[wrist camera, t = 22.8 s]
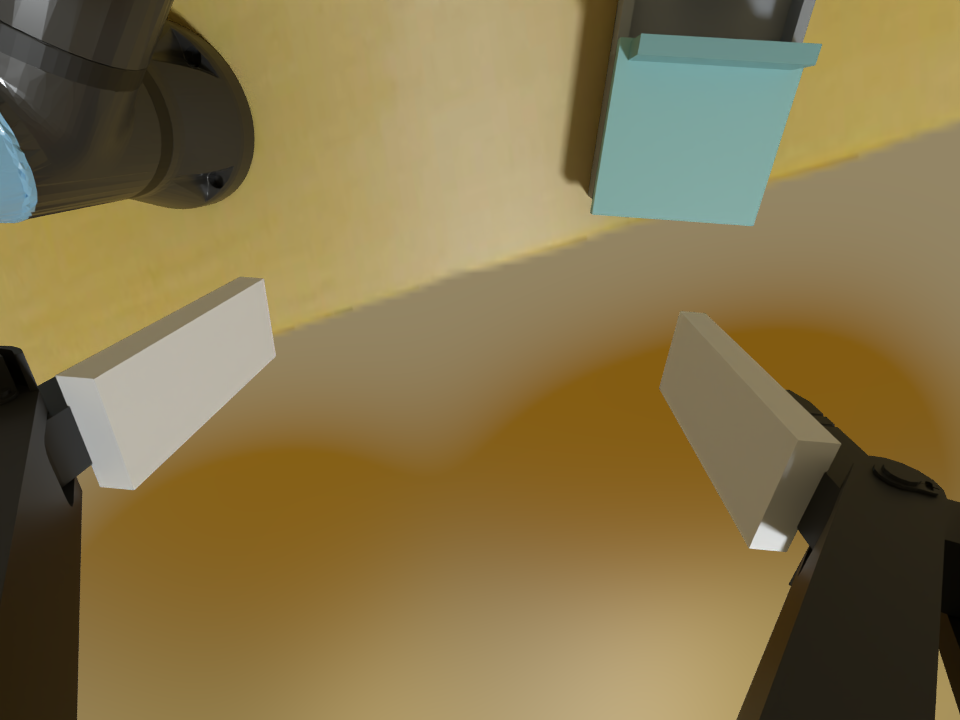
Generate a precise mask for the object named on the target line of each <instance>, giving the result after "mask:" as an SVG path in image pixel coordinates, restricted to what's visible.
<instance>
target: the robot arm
mask: <svg viewBox="0 0 960 720" xmlns="http://www.w3.org/2000/svg"><path fill="white" fill-rule="evenodd" d="M173 1H174V0H0V223H17V222H21V221H24V220H26V219H30V218H35V217H40V216H45V215H50V214H55V213H60V212H65V211H70V210H75V209H80V208H85V207H90V206H95V205H100V204H105V203H110V202H115V201H120V200H124V199H133V200H137V201H141V202H145V203H149V204H153V205H157V206H161V207H166V208H173V209H191V208H197V207H202V206H206V205H210V204H214V203H217V202H219V201H221V200H223V199H225V198H227V197H228V196H229V195H231V194H232V193H233V192H234V191H235V190H236V189H237V188H238V187H239V186H240V185H241V183H242V182H243V180H244V179H245V177H246V175H247V173H248V171H249V168H250V165H251V162H252V158H253V152H254V127H253V120H252V115H251V111H250V108H249V105H248V102H247V99H246V96H245V94H244V92H243V89H242V87H241V85H240V83H239V81H238V80H237V78H236V76H235V75H234V73H233V71H232V70H231V68H230V67H229V66H228V64H227V63H226V62H225V60H224V59H223V58H222V57H221V56H220V55H219V53H218V52H217V51H216V50H215V49H214V48H213V47H212V46H211V45H209V44H208V43H207V42H206V41H205V40H204V39H202V38H201V37H200V36H198V35H197V34H195V33H194V32H192V31H191V30H189V29H187V28H185V27H184V26H181V25H179V24H177V23H174V22H172V21H169V20H166V19H167V17H168V14H169V12H170V9H171V6H172V4H173ZM275 356H276V354H275V348H274V341H273V335H272V328H271V322H270V315H269V309H268V303H267V296H266V290H265V283H264V279H263V278H250V277H239V278H237V279H235V280H233V281H231V282H229V283H228V284H226V285H224V286H222V287H220V288H218V289H216V290H214V291H213V292H211V293H209V294H207V295H205V296H203V297H201V298H200V299H198V300H196V301H194V302H192V303H190V304H188V305H186V306H185V307H183V308H181V309H179V310H177V311H175V312H173V313H171V314H170V315H168V316H166V317H164V318H162V319H160V320H158V321H156V322H155V323H153V324H151V325H149V326H147V327H145V328H143V329H142V330H140V331H138V332H136V333H134V334H132V335H130V336H128V337H127V338H125V339H123V340H121V341H119V342H117V343H115V344H113V345H112V346H110V347H108V348H106V349H104V350H102V351H100V352H98V353H97V354H95V355H93V356H91V357H89V358H87V359H85V360H83V361H82V362H80V363H78V364H76V365H74V366H72V367H70V368H69V369H67V370H65V371H63V372H61V373H59V374H57V375H55V377H53V378H52V379H50V380H48V381H46V382H44V383H42V384H40V385H39V386H37V384H36V382H35V379H34V377H33V375H32V372H31V370H30V368H29V365H28V363H27V361H26V358H25V356H24V354H23V352H22V350H21V349H20V348H17V347H13V346H0V720H77V694H78V651H79V606H80V563H81V520H82V489H81V487H80V484H79V482H78V480H77V477H76V476H77V475H79V474H80V473H81V472H83V471H84V470H85V469H86V468H88V467H89V466H90V465H92V468H93V470H94V473H95V475H96V478H97V480H98V483H99V485H100V487H108V488H118V489H129V490H135V489H136V488H137V487H138V486H139V485H140V484H141V483H142V482H143V481H144V480H145V479H146V478H148V476H150V475H151V474H152V473H153V472H154V471H155V470H156V469H157V468H158V467H159V466H160V465H161V464H162V463H163V462H164V461H165V460H167V458H169V457H170V456H171V455H172V454H173V453H174V452H175V451H176V450H177V449H178V448H179V447H180V446H181V445H182V444H183V443H185V442H186V441H187V440H188V439H189V438H190V437H191V436H192V435H193V434H194V433H195V432H196V431H197V430H198V429H199V428H200V427H201V426H203V425H204V423H206V421H208V420H209V419H210V418H211V417H212V416H213V415H214V414H215V413H216V412H217V411H218V410H219V409H220V408H222V406H224V405H225V404H226V403H227V402H228V401H229V400H230V399H231V398H232V397H233V396H234V395H235V394H236V393H237V392H238V391H239V390H241V389H242V388H243V387H244V386H245V385H246V384H247V383H248V382H249V381H250V380H251V379H252V378H253V377H254V376H255V375H256V374H257V373H259V371H261V370H262V369H263V368H264V367H265V366H266V365H267V364H268V363H269V362H270V361H271V360H272V359H273V358H274V357H275ZM659 389H660V390H661V392H662V394H663V396H664V398H665V399H666V401H667V403H668V405H669V407H670V408H671V410H672V412H673V413H674V415H675V417H676V419H677V421H678V423H679V424H680V426H681V428H682V430H683V431H684V433H685V435H686V437H687V439H688V440H689V442H690V444H691V446H692V448H693V449H694V451H695V453H696V455H697V456H698V458H699V460H700V462H701V463H702V465H703V467H704V469H705V471H706V472H707V474H708V476H709V477H710V479H711V481H712V483H713V485H714V487H715V488H716V490H717V492H718V494H719V496H720V497H721V499H722V501H723V503H724V504H725V506H726V508H727V510H728V512H729V513H730V515H731V517H732V519H733V521H734V522H735V524H736V526H737V528H738V530H739V531H740V533H741V535H742V537H743V538H744V540H745V542H746V544H747V546H748V547H749V548H751V549H762V550H772V551H783V552H786V551H787V550H788V548H789V546H790V544H791V542H792V540H793V538H794V536H795V534H796V532H797V530H799V531H800V533H801V534H802V536H803V537H804V539H805V540H806V541H807V543H808V544H809V547H808V549H807V551H806V553H805V555H804V557H803V558H802V560H801V562H800V564H799V566H798V568H797V570H796V572H795V573H794V575H793V578H792V579H791V581H790V583H789V585H790V586H791V588H790V590H789V593H788V595H787V598H786V600H785V602H784V605H783V607H782V610H781V612H780V615H779V617H778V620H777V622H776V624H775V627H774V630H773V632H772V634H771V637H770V639H769V642H768V644H767V646H766V649H765V651H764V654H763V656H762V659H761V661H760V664H759V666H758V668H757V671H756V673H755V676H754V678H753V681H752V683H751V685H750V688H749V691H748V693H747V695H746V698H745V700H744V703H743V705H742V708H741V710H740V712H739V715H738V718H737V720H935V705H936V688H937V687H936V686H937V670H938V652H939V651H940V654H941V657H942V660H943V663H944V666H945V669H946V672H947V676H948V679H949V682H950V685H951V688H952V691H953V694H954V697H955V700H956V703H957V706H958V709H959V713H960V502H956V501H953V500H948V499H947V498H946V495H945V492H944V490H943V489H942V488H941V487H940V486H939V485H938V484H937V483H936V482H935V481H934V480H932V479H930V478H929V477H927V476H926V475H924V474H923V473H921V472H920V471H918V470H916V469H913V468H911V467H909V466H907V465H905V464H903V463H899V462H896V461H893V460H890V459H887V458H882V457H875V456H868V455H867V454H866V453H865V452H864V451H863V450H861V448H860V447H858V446H857V445H856V444H855V443H854V442H853V441H852V440H851V439H850V438H849V437H848V436H846V435H845V434H844V433H843V432H842V431H841V430H840V429H839V428H838V427H834V424H833V423H832V422H831V421H830V420H829V419H828V418H827V417H823V413H821V412H820V411H819V410H818V409H817V408H816V407H815V406H814V405H813V404H812V403H810V402H809V401H808V400H806V399H804V398H802V397H801V396H799V395H797V394H795V393H794V392H792V391H790V390H785V389H784V388H783V387H782V386H781V385H779V384H778V383H777V382H776V381H775V380H774V379H773V378H772V377H771V376H770V375H769V374H768V373H767V372H766V371H765V370H764V369H763V368H762V367H761V366H760V365H759V364H757V362H756V361H754V360H753V359H752V358H751V357H750V356H749V355H748V354H747V353H746V352H745V351H744V350H743V349H742V348H741V347H740V346H739V345H738V344H737V343H736V342H735V341H734V340H733V339H732V338H731V337H730V336H728V335H727V334H726V333H725V332H724V331H723V330H722V329H721V328H720V327H719V326H718V325H717V324H716V323H715V322H714V321H713V320H712V319H711V318H710V317H709V316H708V315H707V314H706V313H696V312H683V311H680V314H679V317H678V321H677V325H676V328H675V332H674V336H673V339H672V344H671V347H670V351H669V354H668V358H667V362H666V365H665V369H664V373H663V376H662V380H661V384H660V388H659Z"/></svg>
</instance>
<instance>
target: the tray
mask: <svg viewBox="0 0 960 720" xmlns="http://www.w3.org/2000/svg"><path fill="white" fill-rule="evenodd" d="M815 1H816V0H618V5H617V12H616V18H615V25H614V31H613V37H612V44H611V50H610V57H609V63H608V70H607V76H606V82H605V89H604V95H603V102H602V108H601V114H600V121H599V127H598V134H597V140H596V146H595V153H594V159H593V166H592V172H591V179H590V185H589V191H588V196H589V197H590V198H592V199H593V193H594V187H595V181H596V174H597V168H598V162H599V156H600V150H601V143H602V137H603V131H604V125H605V118H606V112H607V106H608V100H609V94H610V87H611V81H612V75H613V69H614V62H615V56H616V50H617V44H618V39H619V38H620V37H627V38H636V37H637V36H639V35H640V34H641V33H643V34H660V35H677V36H694V37H711V38H728V39H745V40H762V41H779V42H796V43H803V39H804V36H805V33H806V30H807V27H808V23H809V20H810V17H811V14H812V10H813V7H814V4H815Z"/></svg>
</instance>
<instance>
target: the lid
mask: <svg viewBox="0 0 960 720" xmlns="http://www.w3.org/2000/svg"><path fill="white" fill-rule="evenodd" d="M821 46H822V44H813V43H796V42H779V41H762V40H745V39H728V38H711V37H694V36H677V35H660V34H643V33H641V34H640V35H639V36H637V37H636V38H627V37H620V38H619V39H618V44H617V50H616V56H615V62H614V69H613V75H612V81H611V87H610V94H609V100H608V106H607V112H606V118H605V125H604V131H603V137H602V143H601V150H600V156H599V162H598V168H597V174H596V181H595V187H594V193H593V199H592V205H591V212H590V213H591V214H593V215H607V216H621V217H634V218H648V219H662V220H678V221H690V222H705V223H718V224H733V225H746V226H753V225H754V222H755V219H756V216H757V213H758V210H759V207H760V203H761V200H762V197H763V194H764V191H765V188H766V185H767V181H768V178H769V175H770V172H771V169H772V166H773V162H774V159H775V156H776V153H777V150H778V147H779V144H780V140H781V137H782V134H783V131H784V128H785V125H786V122H787V118H788V115H789V112H790V109H791V106H792V103H793V100H794V96H795V93H796V90H797V87H798V84H799V81H800V78H801V74H802V71H803V68H804V67H809V66H814V65H815V64H816V61H817V58H818V55H819V52H820V49H821Z"/></svg>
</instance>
